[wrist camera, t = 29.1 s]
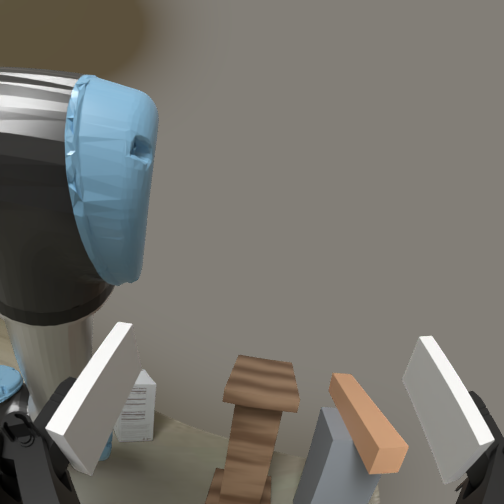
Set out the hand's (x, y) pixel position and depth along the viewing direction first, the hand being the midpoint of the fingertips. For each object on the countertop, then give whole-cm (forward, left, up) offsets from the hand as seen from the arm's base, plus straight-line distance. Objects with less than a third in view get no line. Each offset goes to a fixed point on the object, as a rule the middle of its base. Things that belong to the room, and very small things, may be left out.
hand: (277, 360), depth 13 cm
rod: (+35, +1, -18) cm, 39 cm away
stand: (+30, +17, -42) cm, 54 cm away
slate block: (+35, +1, -42) cm, 55 cm away
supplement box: (+30, +51, -42) cm, 72 cm away
